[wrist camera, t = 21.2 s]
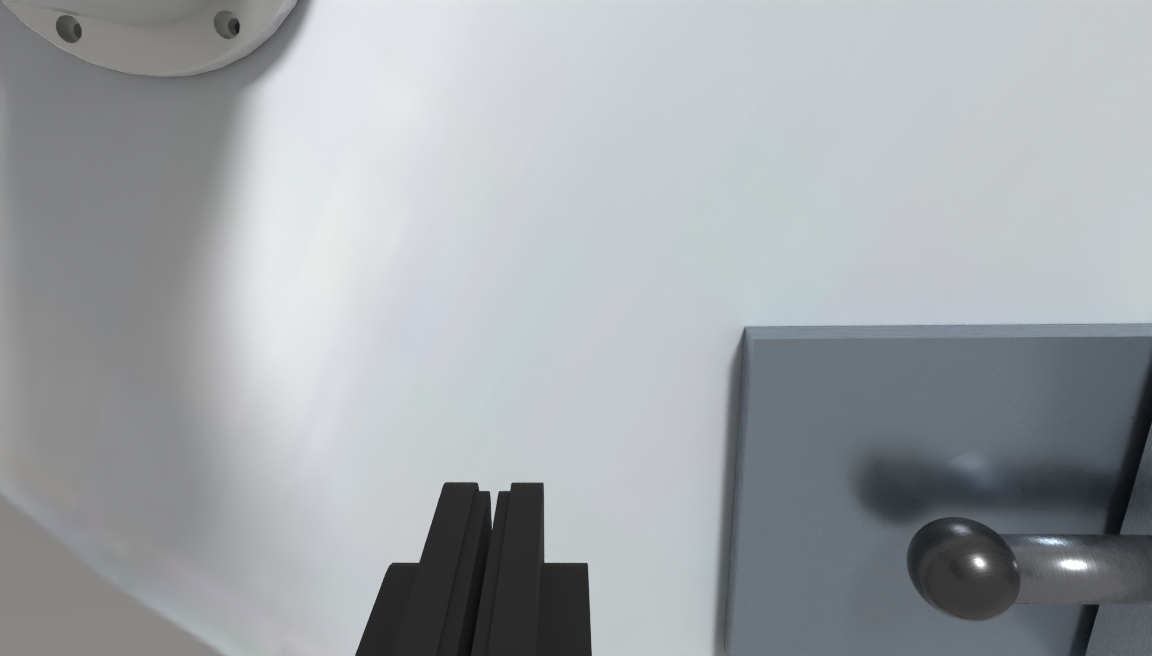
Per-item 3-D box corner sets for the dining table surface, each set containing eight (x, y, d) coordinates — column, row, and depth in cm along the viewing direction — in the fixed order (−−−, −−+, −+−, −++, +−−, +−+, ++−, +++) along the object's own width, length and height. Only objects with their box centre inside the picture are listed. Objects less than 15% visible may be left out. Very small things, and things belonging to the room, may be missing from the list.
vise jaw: (860, 682, 28) (910, 790, 24) (912, 341, 23) (988, 395, 19) (1147, 686, 28) (1254, 796, 23) (1261, 339, 23) (1427, 393, 18)
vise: (724, 647, 30) (756, 781, 24) (745, 326, 25) (792, 393, 19) (1386, 654, 29) (1597, 798, 23) (1543, 320, 24) (1866, 389, 18)
